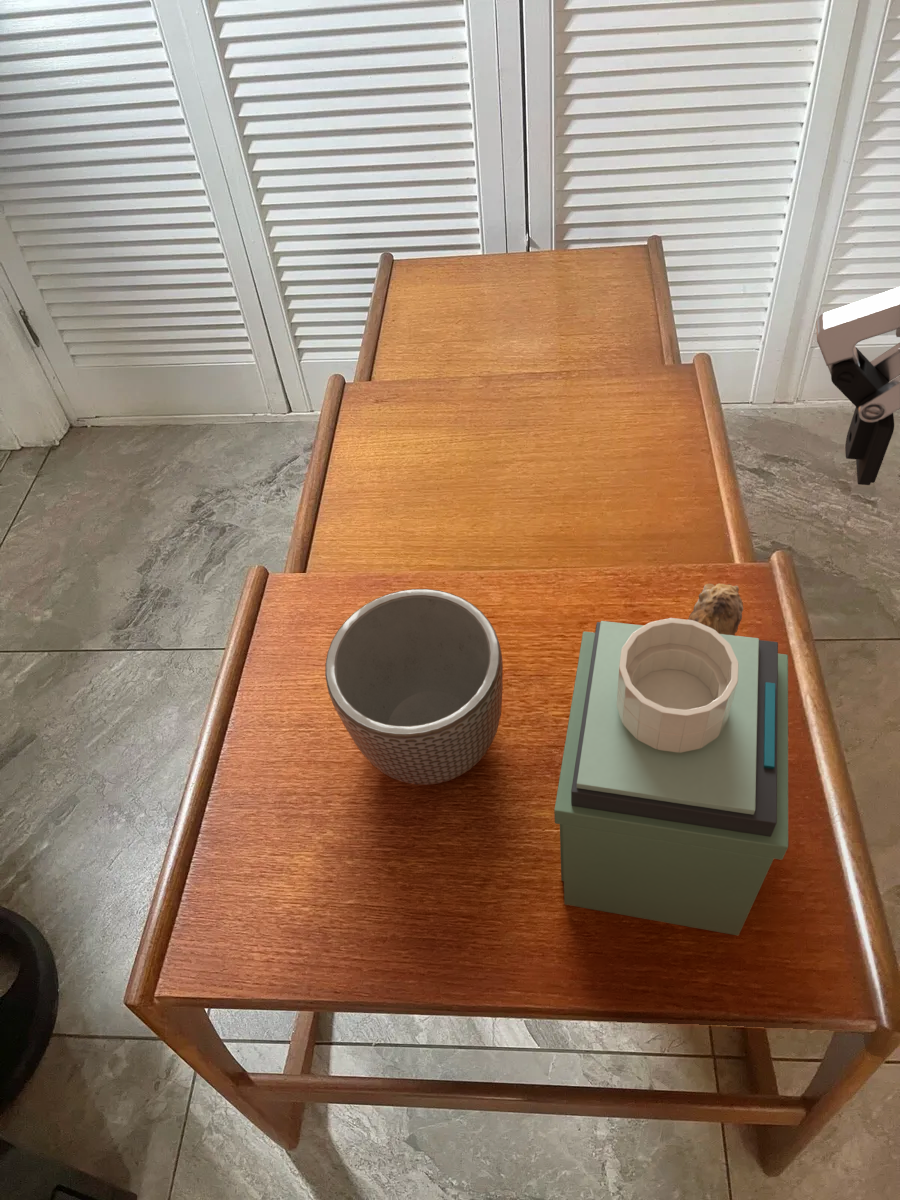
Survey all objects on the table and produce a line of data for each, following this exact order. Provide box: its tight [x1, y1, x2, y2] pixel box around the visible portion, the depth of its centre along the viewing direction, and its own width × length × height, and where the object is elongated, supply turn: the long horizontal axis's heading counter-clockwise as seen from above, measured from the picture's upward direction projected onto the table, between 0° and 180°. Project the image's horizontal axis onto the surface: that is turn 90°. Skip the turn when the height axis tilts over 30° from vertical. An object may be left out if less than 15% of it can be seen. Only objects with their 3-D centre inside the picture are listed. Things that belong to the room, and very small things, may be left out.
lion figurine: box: [687, 583, 744, 636], centre depth 78 cm, size 15×5×9 cm, turn 121°
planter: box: [324, 588, 504, 786], centre depth 75 cm, size 14×14×13 cm
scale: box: [571, 620, 779, 837], centre depth 58 cm, size 12×13×3 cm
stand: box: [553, 631, 789, 936], centre depth 66 cm, size 14×14×17 cm
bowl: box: [616, 617, 739, 753], centre depth 55 cm, size 7×7×5 cm
